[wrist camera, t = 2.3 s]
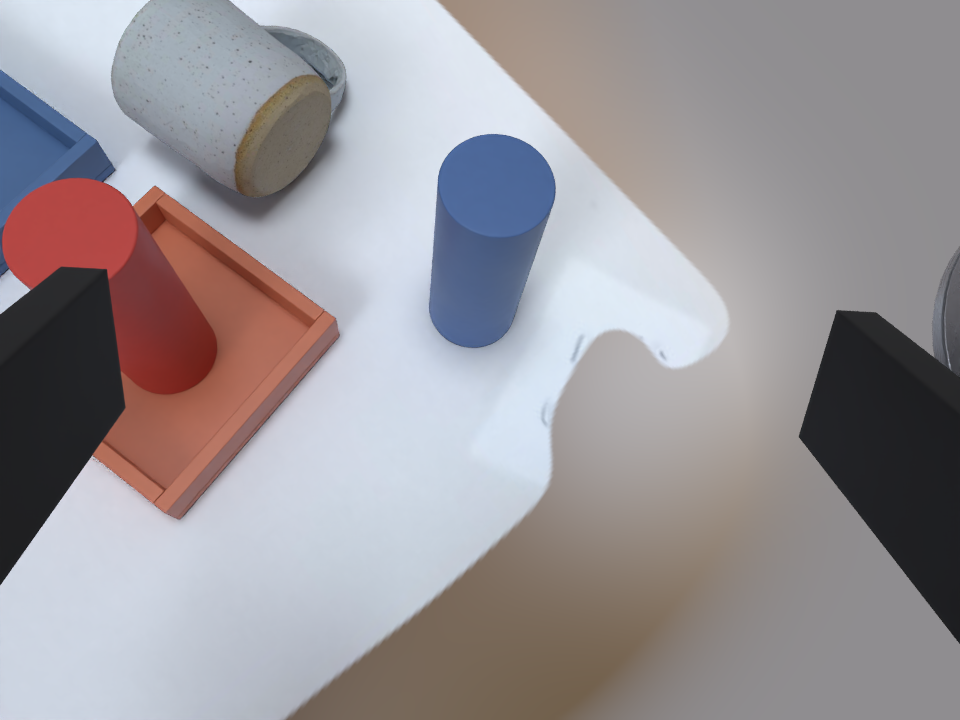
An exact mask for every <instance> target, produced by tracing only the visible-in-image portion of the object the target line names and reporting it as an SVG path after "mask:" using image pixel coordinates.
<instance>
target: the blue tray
mask: <svg viewBox="0 0 960 720" xmlns="http://www.w3.org/2000/svg"><path fill="white" fill-rule="evenodd" d="M114 170H115V168H114V167H113V165H112V164H111V162H110V160H109V159H108V157H107V156H106V154H105V152H104V151H103V149H102V148H101V146H100V145H99V143H98V142H97V140H95V139H94V138H92V137H91V136H90V135H88V134H87V133H86V132H84V131H83V130H82V129H80V128H79V127H78V126H76V125H75V124H73V123H72V122H71V121H69V120H68V119H67V118H65V117H64V116H63V115H61V114H60V113H58V112H57V111H56V110H54V109H53V108H52V107H50V106H49V105H48V104H46V103H45V102H44V101H42V100H41V99H39V98H38V97H37V96H35V95H34V94H33V93H31V92H30V91H29V90H27V89H26V88H24V87H23V86H22V85H20V84H19V83H18V82H16V81H15V80H14V79H12V78H11V77H10V76H8V75H7V74H5V73H4V72H3V71H1V70H0V276H1V275H2V274H3V273H4V272H5V271H6V270H7V269H8V268H9V267H8V265H7V263H6V261H5V258H4V254H3V249H2V236H3V230H4V227H5V224H6V221H7V219H8V217H9V215H10V214H11V212H12V210H13V209H14V208H15V207H16V205H17V204H18V203H19V202H20V201H21V200H22V199H23V198H24V197H25V196H27V195H28V194H29V193H31V192H32V191H34V190H35V189H37V188H39V187H41V186H43V185H45V184H48V183H50V182H53V181H57V180H61V179H68V178H88V179H93V180H97V181H100V182H102V181H103V180H104V179H106V178H107V177H108V176H109V175H110V174H111V173H112V172H113V171H114Z"/></svg>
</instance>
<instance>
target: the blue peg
mask: <svg viewBox="0 0 960 720" xmlns="http://www.w3.org/2000/svg"><path fill="white" fill-rule="evenodd" d="M555 189H556V187H555V180H554V176H553V173H552V171H551V168H550V166H549V165H548V163H547V161H546V160H545V159H544V157H543V156H542V155H541V154H540V153H539V152H538V151H537V150H536V149H535V148H533V147H532V146H531V145H529V144H527V143H526V142H524V141H522V140H519V139H517V138H514V137H511V136H506V135H499V134H487V135H480V136H476V137H473V138H470V139H468V140H466V141H464V142H462V143H461V144H459V145H458V146H456V147H455V148H454V149H453V150H452V151H451V152H450V153H449V154H448V156H447V157H446V158H445V160H444V162H443V163H442V166H441V168H440V171H439V176H438V188H437V202H436V216H435V231H434V245H433V259H432V274H431V288H430V302H429V311H430V316H431V319H432V322H433V324H434V326H435V327H436V329H437V330H438V331H439V333H440V334H441V335H442V336H444V337H445V338H446V339H447V340H449V341H451V342H453V343H455V344H457V345H460V346H464V347H483V346H486V345H490V344H492V343H494V342H496V341H497V340H499V339H500V338H501V337H502V336H504V334H505V333H506V332H507V331H508V329H509V328H510V326H511V324H512V321H513V319H514V316H515V313H516V310H517V307H518V304H519V301H520V298H521V295H522V293H523V290H524V287H525V284H526V281H527V278H528V275H529V272H530V269H531V267H532V264H533V261H534V258H535V255H536V252H537V249H538V246H539V244H540V241H541V238H542V235H543V232H544V229H545V226H546V223H547V220H548V218H549V215H550V212H551V209H552V206H553V203H554V199H555Z"/></svg>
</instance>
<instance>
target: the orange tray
mask: <svg viewBox="0 0 960 720" xmlns="http://www.w3.org/2000/svg"><path fill="white" fill-rule="evenodd" d="M133 208H134V209H135V211H136V212H137V214H138V215H139V217H140V218H141V220H142V221H143V223H144V225H145V226H146V228H147V229H148V231H149V232H150V234H151V235H152V237H153V238H154V240H155V241H156V243H157V244H158V246H159V248H160V249H161V251H162V252H163V254H164V255H165V257H166V258H167V260H168V261H169V263H170V264H171V266H172V267H173V269H174V271H175V272H176V274H177V275H178V277H179V278H180V280H181V281H182V283H183V284H184V286H185V287H186V289H187V290H188V292H189V294H190V295H191V297H192V298H193V300H194V301H195V303H196V304H197V306H198V307H199V309H200V310H201V312H202V313H203V315H204V317H205V318H206V320H207V321H208V323H209V324H210V326H211V327H212V329H213V331H214V333H215V336H216V340H217V354H216V358H215V362H214V364H213V366H212V368H211V370H210V371H209V373H208V374H207V375H206V376H205V377H204V378H203V379H202V380H201V381H200V382H199V383H198V384H196V385H195V386H193V387H191V388H190V389H187V390H185V391H182V392H179V393H174V394H156V393H152V392H149V391H146V390H144V389H142V388H141V387H139V386H138V385H136V384H135V383H134V382H133V381H132V380H131V379H130V378H128V377H127V376H126V375H125V374H124V373H123V372H122V371H121V377H122V384H123V391H124V399H125V406H126V408H125V410H124V411H123V412H122V414H121V415H120V417H119V418H118V419H117V421H116V422H115V424H114V425H113V427H112V428H111V429H110V431H109V432H108V434H107V435H106V436H105V438H104V439H103V441H102V442H101V444H100V445H99V446H98V448H97V449H96V451H95V452H94V453H93V456H94V457H95V458H97V459H98V460H99V461H100V462H102V463H103V464H104V465H105V466H107V467H108V468H109V469H110V470H112V471H113V472H114V473H115V474H117V475H118V476H119V477H120V478H122V479H123V480H124V481H125V482H127V483H128V484H129V485H130V486H132V487H133V488H134V489H135V490H137V491H138V492H139V493H140V494H142V495H143V496H144V497H145V498H147V499H148V500H149V501H150V502H152V503H153V504H154V505H155V506H157V507H158V508H159V509H160V510H162V511H163V512H164V513H166V514H168V515H170V516H172V517H174V518H177V519H181V518H182V516H183V515H184V514H185V513H186V512H187V511H188V510H189V508H190V507H191V506H192V505H193V504H194V503H195V502H196V500H197V499H198V498H199V497H200V496H201V495H202V493H203V492H204V491H205V490H206V489H207V488H208V487H209V485H210V484H211V483H212V482H213V481H214V480H215V479H216V477H217V476H218V475H219V474H220V473H221V472H222V470H223V469H224V468H225V467H226V466H227V465H228V464H229V462H230V461H231V460H232V459H233V458H234V457H235V456H236V454H237V453H238V452H239V451H240V450H241V449H242V447H243V446H244V445H245V444H246V443H247V442H248V441H249V439H250V438H251V437H252V436H253V435H254V434H255V433H256V431H257V430H258V429H259V428H260V427H261V426H262V424H263V423H264V422H265V421H266V420H267V419H268V418H269V416H270V415H271V414H272V413H273V412H274V411H275V409H276V408H277V407H278V406H279V405H280V404H281V403H282V401H283V400H284V399H285V398H286V397H287V396H288V395H289V393H290V392H291V391H292V390H293V389H294V388H295V386H296V385H297V384H298V383H299V382H300V381H301V380H302V378H303V377H304V376H305V375H306V374H307V373H308V372H309V370H310V369H311V368H312V367H313V366H314V365H315V363H316V362H317V361H318V360H319V359H320V358H321V357H322V355H323V354H324V353H325V352H326V351H327V350H328V349H329V347H330V346H331V345H332V344H333V343H334V342H335V340H336V339H337V338H338V337H339V336H340V334H339V330H338V326H337V321H336V318H335V317H333V316H332V315H330V314H329V313H328V312H326V311H324V309H322V308H321V307H320V306H318V305H317V304H315V303H314V302H313V301H311V300H310V299H309V298H307V297H306V296H305V295H303V294H302V293H301V292H299V291H298V290H296V289H295V288H294V287H292V286H291V285H290V284H288V283H287V282H286V281H284V280H283V279H281V278H280V277H279V276H277V275H276V274H275V273H273V272H272V271H271V270H269V269H268V268H267V267H265V266H264V265H262V264H261V263H260V262H258V261H257V260H256V259H254V258H253V257H252V256H250V255H249V254H248V253H246V252H245V251H243V250H242V249H241V248H239V247H238V246H237V245H235V244H234V243H233V242H231V241H230V240H228V239H227V238H226V237H224V236H223V235H222V234H220V233H219V232H218V231H216V230H215V229H214V228H212V227H211V226H209V225H208V224H207V223H205V222H204V221H203V220H201V219H200V218H199V217H197V216H196V215H194V214H193V213H192V212H190V211H189V210H188V209H186V208H185V207H184V206H182V205H181V204H180V203H178V202H177V201H175V200H174V199H173V198H171V197H170V196H169V195H167V194H165V192H163V191H162V190H161V189H159V188H158V187H156V186H154V187H153V188H151V189H150V190H149V191H148V192H147V193H146V194H145V195H144V196H143V197H142V198H141V199H140V200H139V201H138V202H137V203H136V204H135V205H134V206H133Z"/></svg>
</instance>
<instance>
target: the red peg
mask: <svg viewBox="0 0 960 720" xmlns="http://www.w3.org/2000/svg"><path fill="white" fill-rule="evenodd" d="M2 249H3V254H4V258H5V261H6V263H7V265H8V267H9V269H10V270H11V271H12V273H13V274H14V275H15V276H16V277H17V278H18V279H19V280H20V281H21V282H22V283H23V284H25V285H26V286H27V287H28V288H29V289H30V290H32V289H33V288H34V287H36V286H37V285H38V284H39V283H41V282H42V281H43V280H44V279H46V278H47V277H48V276H49V275H51V274H52V273H53V272H55V271H56V270H57V269H58V268H60V267H61V266H62V267H80V268H98V269H107V273H108V280H109V287H110V295H111V302H112V310H113V317H114V325H115V332H116V339H117V347H118V354H119V362H120V369H121V371H122V372H123V373H124V374H125V375H126V376H127V377H128V378H130V379H131V380H132V381H133V382H134V383H135V384H136V385H138V386H139V387H141V388H142V389H144V390H146V391H149V392H152V393H156V394H174V393H179V392H182V391H185V390H187V389H190V388H191V387H193V386H195V385H196V384H198V383H199V382H200V381H201V380H202V379H203V378H204V377H205V376H206V375H207V374H208V373H209V371H210V370H211V368H212V366H213V364H214V362H215V358H216V354H217V340H216V336H215V333H214V331H213V329H212V327H211V326H210V324H209V323H208V321H207V320H206V318H205V317H204V315H203V313H202V312H201V310H200V309H199V307H198V306H197V304H196V303H195V301H194V300H193V298H192V297H191V295H190V294H189V292H188V290H187V289H186V287H185V286H184V284H183V283H182V281H181V280H180V278H179V277H178V275H177V274H176V272H175V271H174V269H173V267H172V266H171V264H170V263H169V261H168V260H167V258H166V257H165V255H164V254H163V252H162V251H161V249H160V248H159V246H158V244H157V243H156V241H155V240H154V238H153V237H152V235H151V234H150V232H149V231H148V229H147V228H146V226H145V225H144V223H143V221H142V220H141V218H140V217H139V215H138V214H137V212H136V211H135V209H134V208H133V206H132V205H131V203H130V202H129V200H128V199H127V198H126V197H125V196H124V195H123V194H122V193H121V192H120V191H118V190H117V189H115V188H114V187H112V186H110V185H108V184H106V183H103V182H100V181H97V180H93V179H88V178H68V179H61V180H57V181H53V182H50V183H48V184H45V185H43V186H41V187H39V188H37V189H35V190H34V191H32V192H31V193H29V194H28V195H27V196H25V197H24V198H23V199H22V200H21V201H20V202H19V203H18V204H17V205H16V207H15V208H14V209H13V210H12V212H11V214H10V215H9V217H8V219H7V221H6V224H5V227H4V230H3V236H2Z"/></svg>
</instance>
